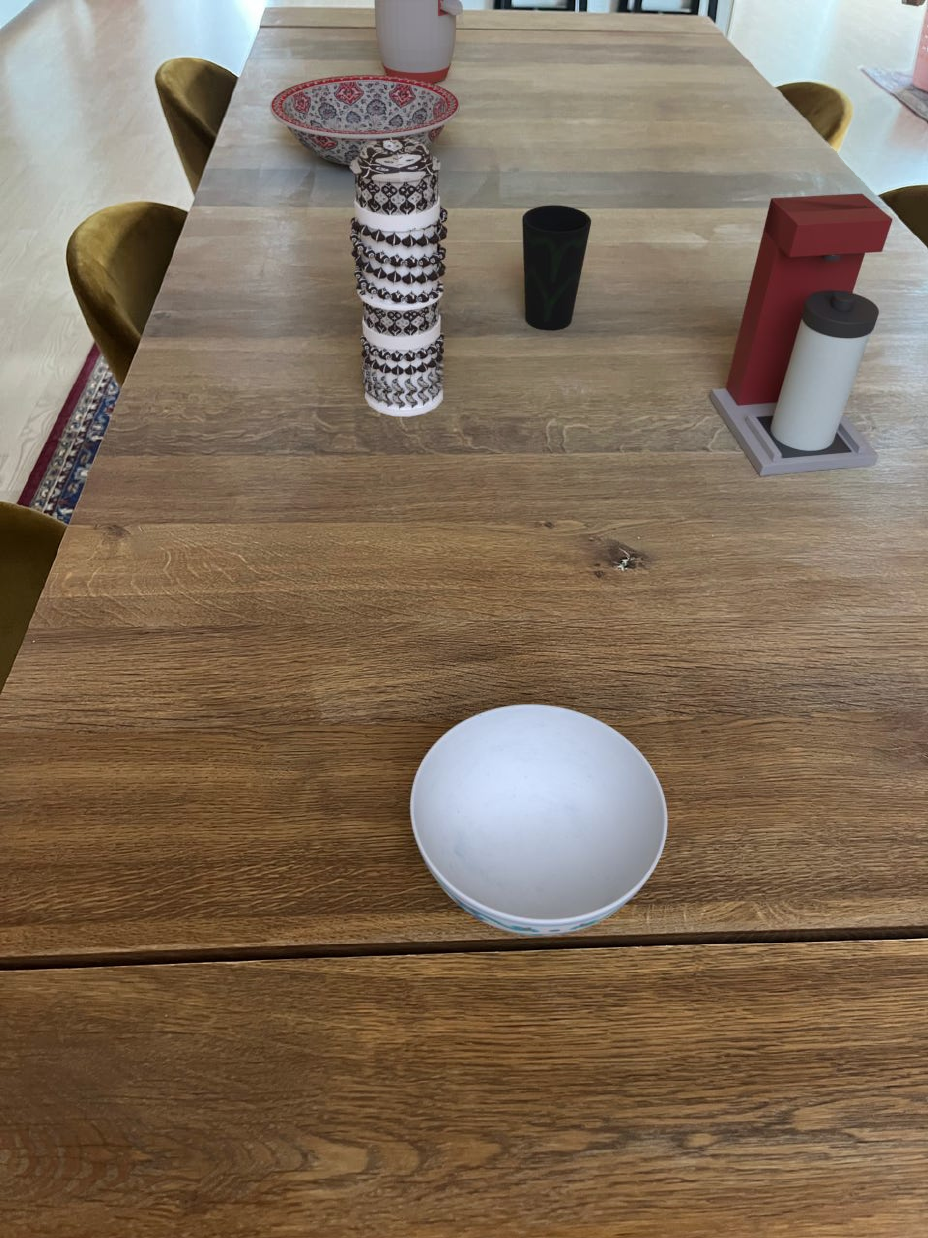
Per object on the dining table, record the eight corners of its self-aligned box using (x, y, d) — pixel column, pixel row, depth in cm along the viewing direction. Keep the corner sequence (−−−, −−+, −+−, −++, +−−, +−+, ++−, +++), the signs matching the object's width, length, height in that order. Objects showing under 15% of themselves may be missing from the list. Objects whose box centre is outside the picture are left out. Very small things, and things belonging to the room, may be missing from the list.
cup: (548, 341, 109) (556, 238, 101) (503, 317, 113) (508, 216, 105) (593, 320, 113) (605, 220, 104) (548, 298, 117) (556, 199, 108)
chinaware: (452, 752, 67) (453, 681, 62) (663, 806, 64) (683, 735, 59) (379, 944, 57) (372, 878, 51) (625, 1017, 54) (645, 956, 48)
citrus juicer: (434, 96, 173) (434, -34, 159) (359, 79, 180) (352, -47, 166) (480, 76, 183) (483, -49, 169) (407, 60, 189) (404, -61, 175)
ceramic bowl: (495, 167, 148) (497, 112, 142) (331, 206, 136) (327, 148, 131) (398, 116, 165) (396, 64, 159) (245, 146, 153) (238, 92, 147)
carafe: (839, 454, 92) (889, 314, 81) (772, 448, 92) (813, 309, 82) (829, 418, 96) (875, 281, 86) (766, 413, 97) (804, 276, 86)
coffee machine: (874, 465, 93) (956, 256, 78) (759, 476, 91) (821, 264, 76) (814, 390, 102) (877, 192, 88) (709, 398, 101) (755, 198, 86)
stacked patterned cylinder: (454, 415, 98) (456, 162, 80) (365, 422, 97) (347, 167, 79) (441, 370, 104) (440, 127, 87) (357, 376, 103) (339, 131, 85)
